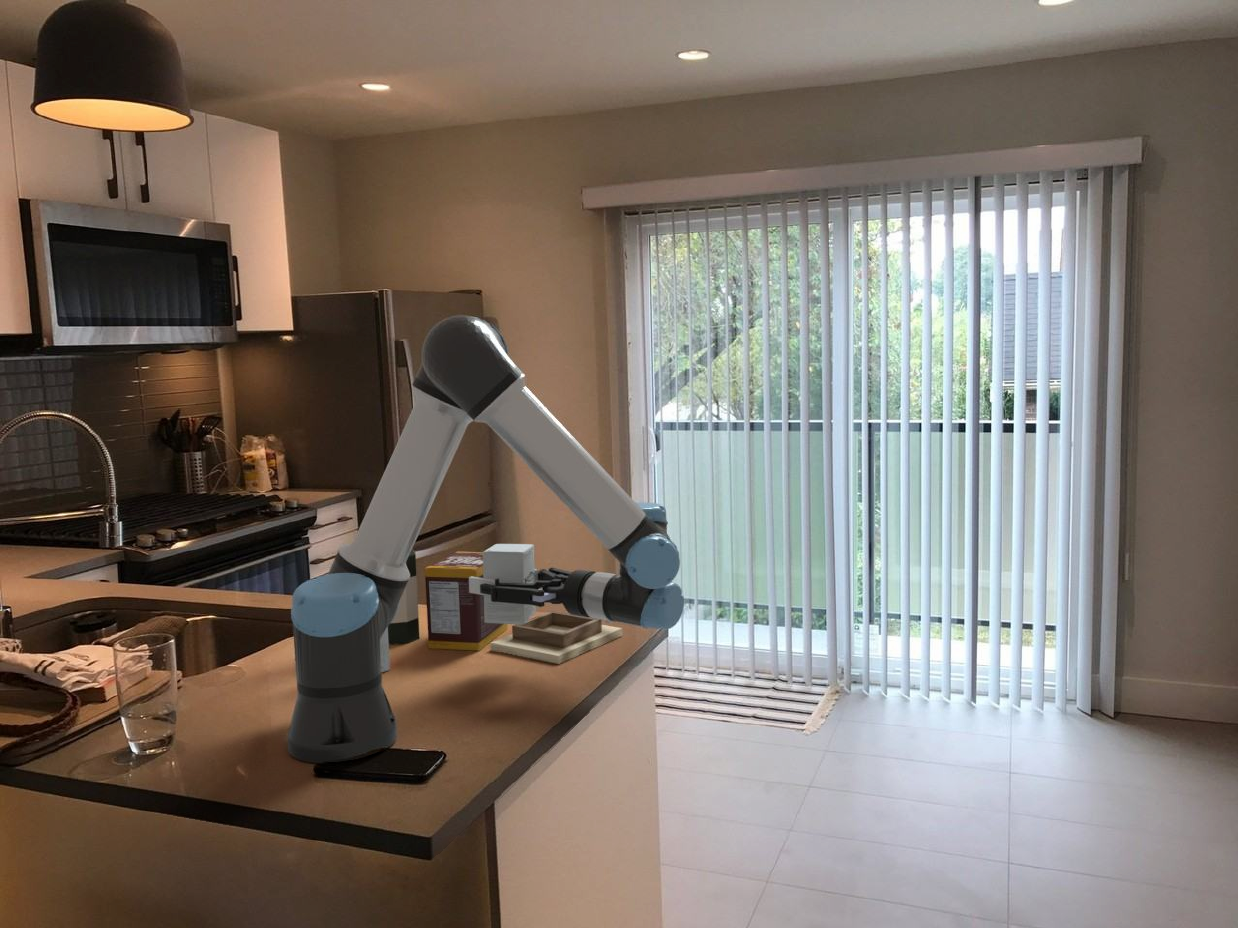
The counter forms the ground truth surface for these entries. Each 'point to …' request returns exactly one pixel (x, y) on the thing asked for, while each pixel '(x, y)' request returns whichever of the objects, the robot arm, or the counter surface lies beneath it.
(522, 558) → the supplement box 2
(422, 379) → the robot arm
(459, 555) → the supplement box
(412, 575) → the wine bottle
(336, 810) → the counter surface
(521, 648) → the dock
